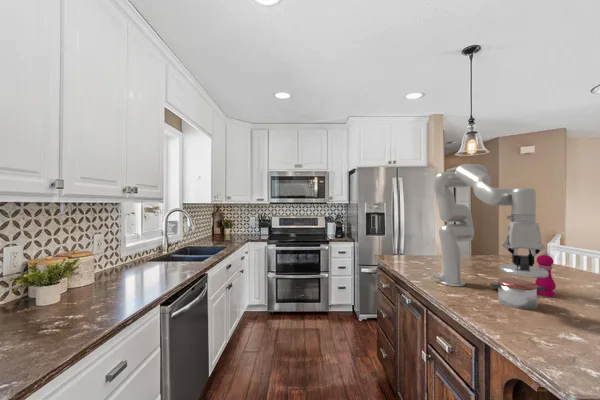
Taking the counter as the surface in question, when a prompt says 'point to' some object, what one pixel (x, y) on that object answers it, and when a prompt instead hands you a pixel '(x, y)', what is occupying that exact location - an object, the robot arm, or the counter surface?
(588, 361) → the counter surface
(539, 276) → the lid
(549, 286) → the pepper mill
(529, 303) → the pot
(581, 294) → the counter surface
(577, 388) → the counter surface
